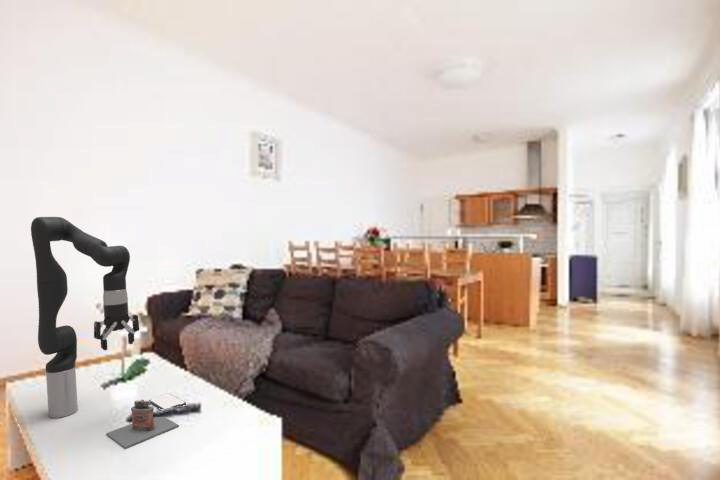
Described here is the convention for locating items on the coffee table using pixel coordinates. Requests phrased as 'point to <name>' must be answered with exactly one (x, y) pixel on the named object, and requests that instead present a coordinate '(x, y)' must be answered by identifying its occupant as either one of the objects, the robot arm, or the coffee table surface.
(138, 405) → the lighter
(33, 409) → the coffee table surface
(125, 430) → the rubber mat
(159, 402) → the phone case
